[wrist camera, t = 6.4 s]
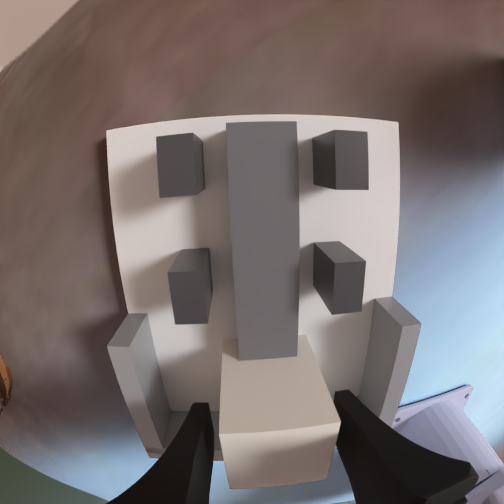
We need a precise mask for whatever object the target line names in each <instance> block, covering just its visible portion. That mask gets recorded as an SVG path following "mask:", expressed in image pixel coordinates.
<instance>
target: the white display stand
mask: <svg viewBox="0 0 504 504" xmlns="http://www.w3.org/2000/svg"><path fill="white" fill-rule="evenodd" d="M334 504H356V501H355V500H354V501H348V502H342V503H334Z"/></svg>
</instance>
